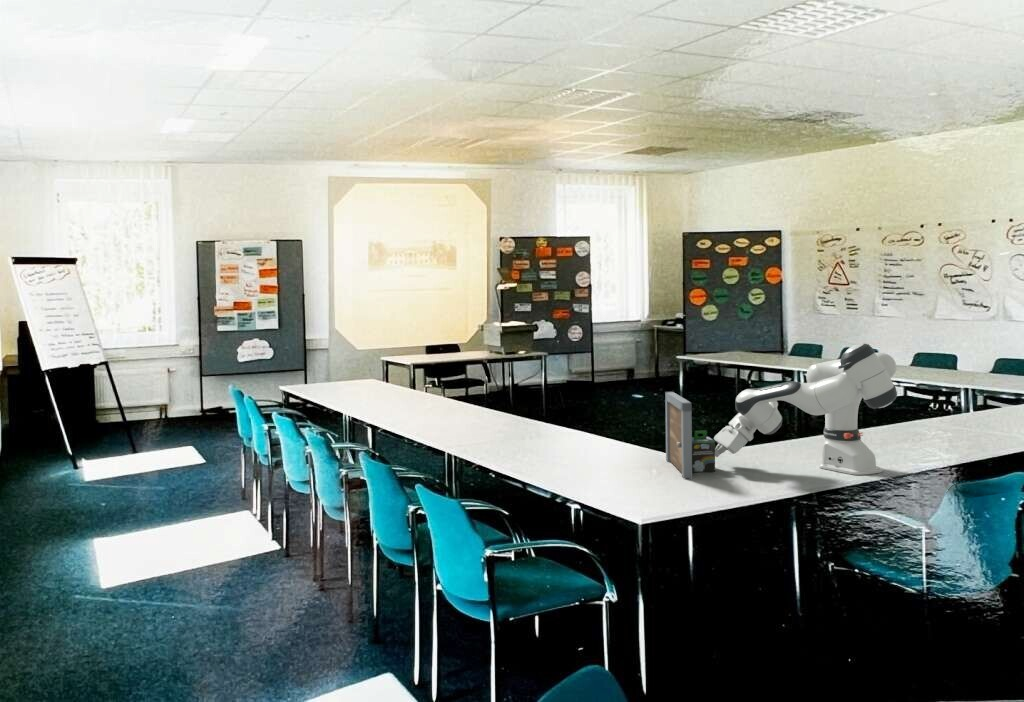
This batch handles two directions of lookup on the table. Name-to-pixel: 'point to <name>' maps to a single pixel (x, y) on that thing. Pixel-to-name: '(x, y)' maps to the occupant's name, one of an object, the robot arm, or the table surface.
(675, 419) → the door
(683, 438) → the door frame
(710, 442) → the chalk box
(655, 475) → the table surface
